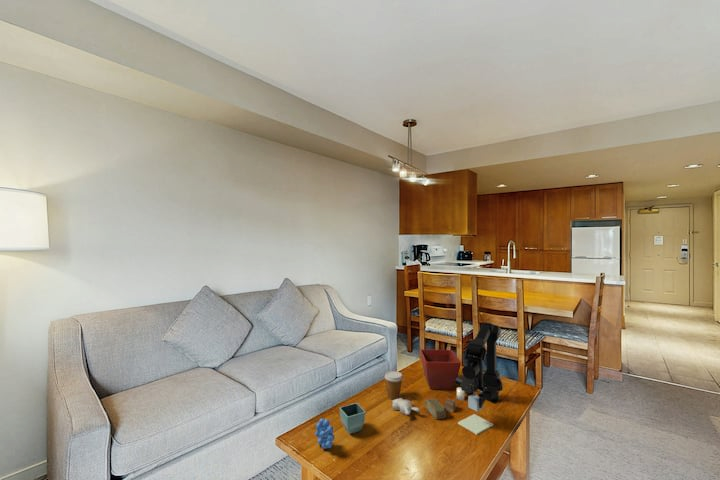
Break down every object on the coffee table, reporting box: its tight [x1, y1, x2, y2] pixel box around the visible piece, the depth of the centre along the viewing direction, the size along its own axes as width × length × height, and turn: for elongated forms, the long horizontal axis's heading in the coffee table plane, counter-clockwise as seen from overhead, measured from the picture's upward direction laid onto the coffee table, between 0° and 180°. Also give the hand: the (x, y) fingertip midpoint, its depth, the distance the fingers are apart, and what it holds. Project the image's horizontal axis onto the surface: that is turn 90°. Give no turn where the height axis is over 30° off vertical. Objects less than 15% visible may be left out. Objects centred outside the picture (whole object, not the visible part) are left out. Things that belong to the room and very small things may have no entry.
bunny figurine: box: [391, 397, 421, 416], centre depth 157 cm, size 10×5×15 cm
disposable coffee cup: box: [384, 370, 404, 401], centre depth 171 cm, size 10×10×12 cm
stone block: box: [424, 398, 447, 420], centre depth 156 cm, size 6×12×5 cm, turn 17°
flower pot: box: [339, 402, 366, 435], centre depth 142 cm, size 9×9×9 cm
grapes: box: [314, 417, 336, 450], centre depth 130 cm, size 12×7×12 cm, turn 41°
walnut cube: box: [444, 398, 457, 413], centre depth 159 cm, size 4×4×4 cm
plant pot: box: [420, 349, 462, 391], centre depth 186 cm, size 19×19×17 cm
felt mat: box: [457, 413, 494, 435], centre depth 147 cm, size 12×10×1 cm
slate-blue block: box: [467, 392, 484, 412], centre depth 147 cm, size 4×4×5 cm
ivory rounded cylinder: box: [456, 386, 466, 401], centre depth 170 cm, size 4×4×5 cm
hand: (475, 405), depth 147 cm, fingers closed on slate-blue block, 4 cm apart
